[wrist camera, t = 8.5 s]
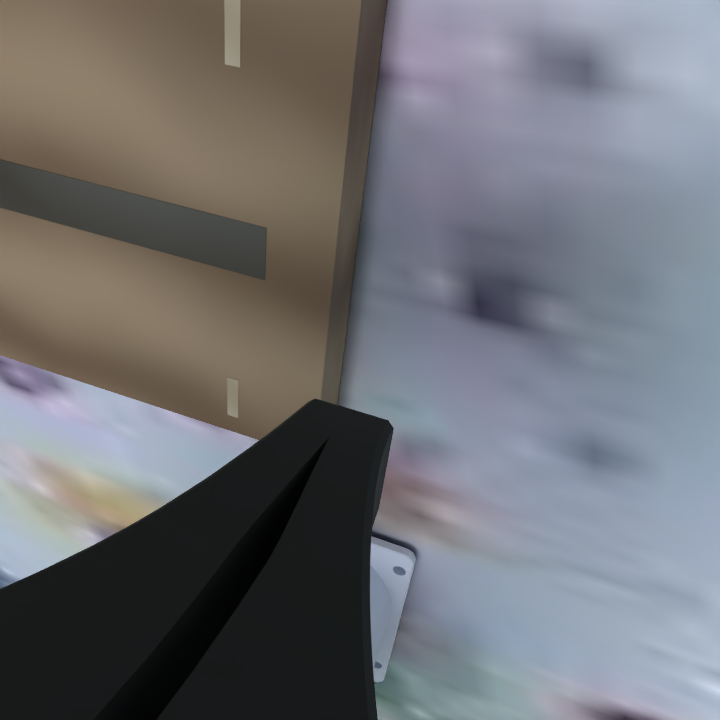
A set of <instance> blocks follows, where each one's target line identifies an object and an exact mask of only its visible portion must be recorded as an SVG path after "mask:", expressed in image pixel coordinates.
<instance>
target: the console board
mask: <svg viewBox="0 0 720 720" xmlns="http://www.w3.org/2000/svg"><path fill="white" fill-rule="evenodd" d="M386 6H387V0H0V355H1V356H4V357H8V358H11V359H14V360H17V361H20V362H23V363H26V364H29V365H32V366H35V367H38V368H41V369H44V370H47V371H50V372H53V373H56V374H59V375H62V376H65V377H69V378H72V379H75V380H78V381H81V382H84V383H87V384H90V385H93V386H96V387H99V388H102V389H105V390H108V391H111V392H114V393H117V394H120V395H123V396H127V397H130V398H133V399H136V400H139V401H142V402H145V403H148V404H151V405H154V406H157V407H160V408H163V409H166V410H169V411H172V412H175V413H178V414H181V415H185V416H188V417H191V418H194V419H197V420H200V421H203V422H206V423H209V424H212V425H215V426H218V427H221V428H224V429H227V430H230V431H233V432H236V433H239V434H243V435H246V436H249V437H252V438H255V439H258V440H261V439H262V438H263V437H265V436H266V435H267V434H268V433H270V432H271V431H272V430H274V429H275V428H276V427H277V426H279V425H280V424H281V423H283V422H284V421H285V420H286V419H288V418H289V417H290V416H291V415H293V414H294V413H295V412H296V411H298V410H299V409H300V408H301V407H302V406H304V405H305V404H306V403H307V402H309V401H311V400H313V399H315V398H316V399H319V400H322V401H326V402H329V403H332V404H335V405H338V397H339V389H340V381H341V373H342V365H343V356H344V348H345V340H346V332H347V324H348V316H349V308H350V299H351V291H352V283H353V275H354V267H355V259H356V251H357V242H358V234H359V226H360V218H361V210H362V202H363V194H364V185H365V177H366V169H367V161H368V153H369V145H370V137H371V128H372V120H373V112H374V104H375V96H376V88H377V80H378V71H379V63H380V55H381V47H382V39H383V31H384V23H385V14H386Z"/></svg>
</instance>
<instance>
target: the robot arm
mask: <svg viewBox="0 0 720 720" xmlns="http://www.w3.org/2000/svg"><path fill="white" fill-rule="evenodd" d="M393 429H394V428H393V427H392V425H391V424H390V423H389V421H388V420H385V419H382V418H378V417H375V416H372V415H368V414H365V413H362V412H359V411H355V410H352V409H349V408H345V407H342V406H339V405H335V404H332V403H329V402H326V401H322V400H319V399H316V398H315V399H313V400H311V401H309V402H307V403H306V404H305V405H304V406H302V407H301V408H300V409H299V410H298V411H296V412H295V413H294V414H293V415H291V416H290V417H289V418H288V419H286V420H285V421H284V422H283V423H281V424H280V425H279V426H277V427H276V428H275V429H274V430H272V431H271V432H270V433H268V434H267V435H266V436H265V437H263V438H262V439H261V440H259V441H258V442H257V443H255V444H254V445H253V446H251V447H250V448H249V449H247V450H246V451H244V452H243V453H242V454H240V455H239V456H237V457H236V458H235V459H233V460H232V461H230V462H229V463H228V464H226V465H225V466H223V467H222V468H221V469H219V470H218V471H216V472H215V473H213V474H212V475H211V476H209V477H208V478H206V479H205V480H203V481H201V482H200V483H198V484H197V485H195V486H194V487H192V488H191V489H189V490H187V491H186V492H184V493H183V494H181V495H180V496H178V497H176V498H175V499H173V500H172V501H170V502H169V503H167V504H166V505H164V506H162V507H161V508H159V509H157V510H156V511H154V512H152V513H151V514H149V515H147V516H146V517H144V518H142V519H140V520H139V521H137V522H135V523H133V524H132V525H130V526H128V527H126V528H125V529H123V530H121V531H119V532H117V533H115V534H113V535H112V536H110V537H108V538H106V539H104V540H102V541H100V542H98V543H97V544H95V545H93V546H91V547H89V548H87V549H85V550H83V551H81V552H79V553H76V554H74V555H72V556H70V557H68V558H66V559H64V560H62V561H60V562H58V563H56V564H54V565H52V566H50V567H48V568H46V569H44V570H41V571H39V572H37V573H35V574H33V575H30V576H28V577H26V578H24V579H22V580H19V581H17V582H15V583H13V584H10V585H8V586H6V587H3V588H1V589H0V720H378V718H377V709H376V700H375V687H374V682H381V681H383V680H384V678H385V675H386V671H387V668H388V664H389V660H390V656H391V652H392V649H393V645H394V641H395V637H396V634H397V630H398V626H399V622H400V618H401V615H402V611H403V607H404V603H405V599H406V596H407V592H408V588H409V584H410V581H411V577H412V573H413V569H414V565H415V562H416V557H415V555H414V553H413V552H411V551H410V550H409V549H407V548H404V547H401V546H398V545H396V544H393V543H390V542H387V541H384V540H381V539H378V538H375V537H372V536H371V534H372V527H373V524H374V521H375V517H376V514H377V511H378V508H379V504H380V499H381V493H382V488H383V483H384V477H385V472H386V467H387V461H388V456H389V450H390V445H391V440H392V434H393Z"/></svg>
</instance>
